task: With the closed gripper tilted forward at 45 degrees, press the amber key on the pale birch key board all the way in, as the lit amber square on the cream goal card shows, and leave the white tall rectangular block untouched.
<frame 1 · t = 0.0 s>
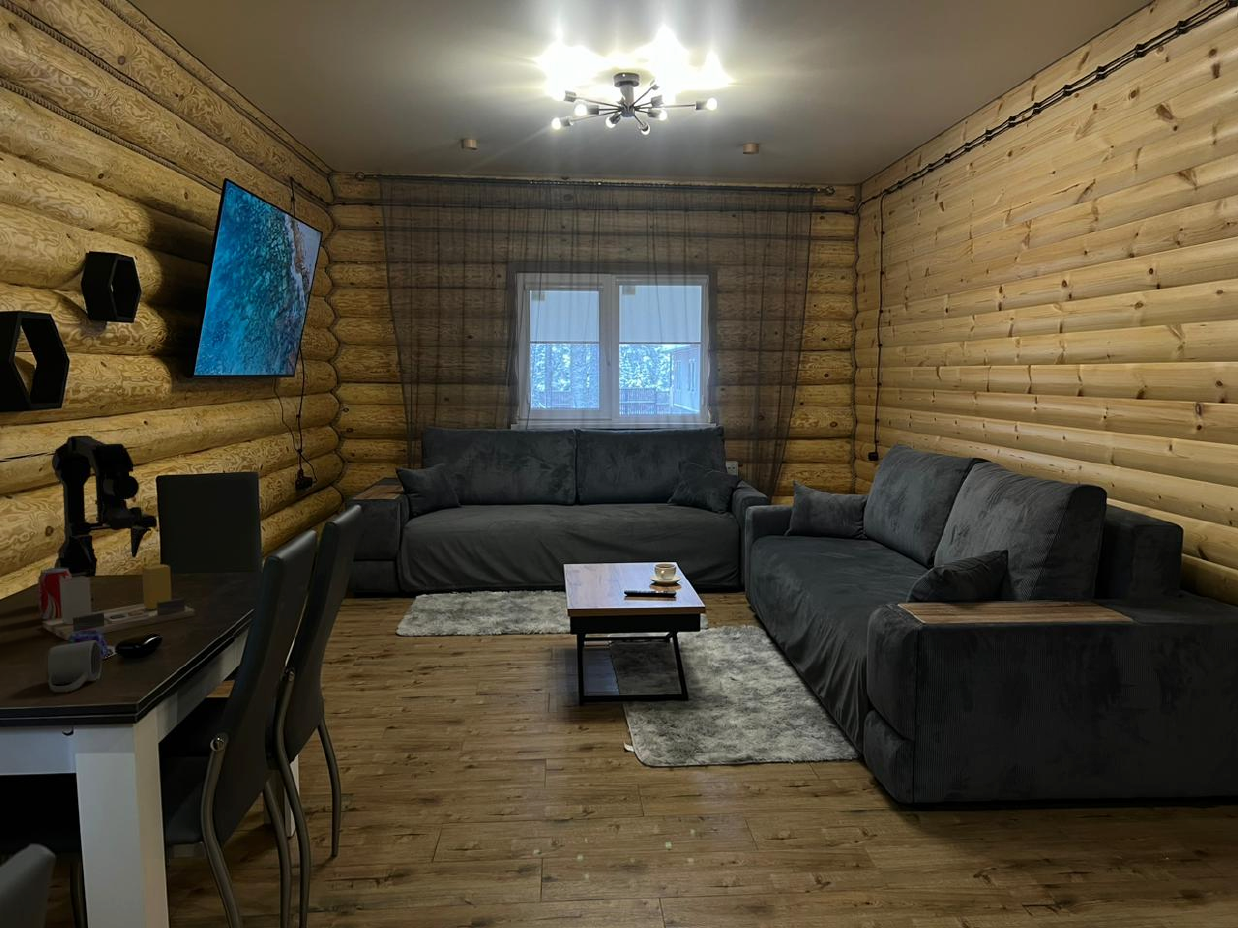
hand: (113, 559, 210), 15 cm above the table, tool pointing down, fingers open, 9 cm apart
white tall rectangular block: (75, 599, 203), point 7 cm above the table, slide at 0.0 cm
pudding: (86, 658, 183), on the table
key board: (120, 621, 209), on the table
ceramic mug: (74, 684, 166), on the table
soda can: (57, 618, 212), on the table
key amber: (157, 586, 216), point 7 cm above the table, slide at 0.0 cm
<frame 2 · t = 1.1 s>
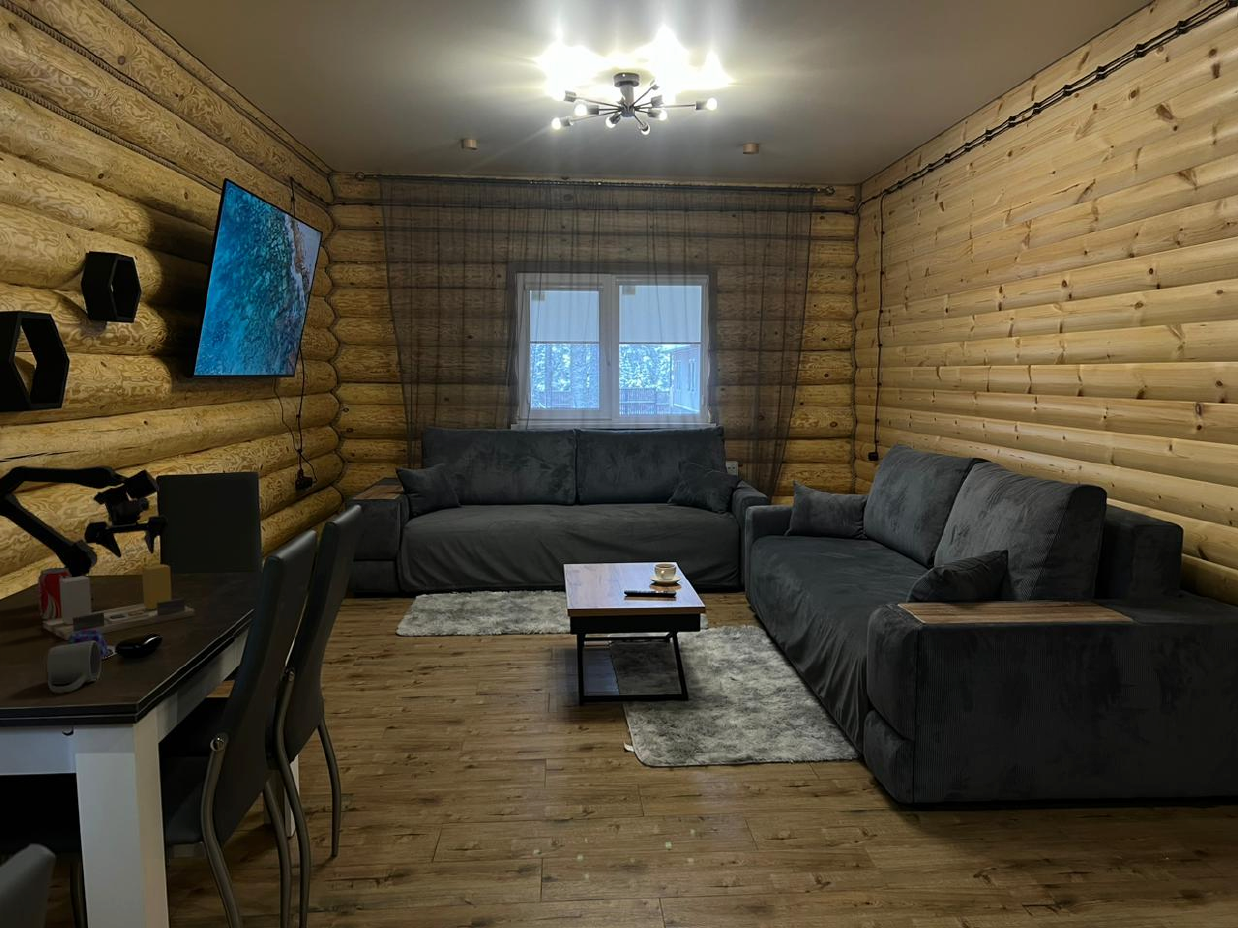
hand: (136, 554, 223), 13 cm above the table, tool tilted 45°, fingers open, 7 cm apart
nothing on the table moved.
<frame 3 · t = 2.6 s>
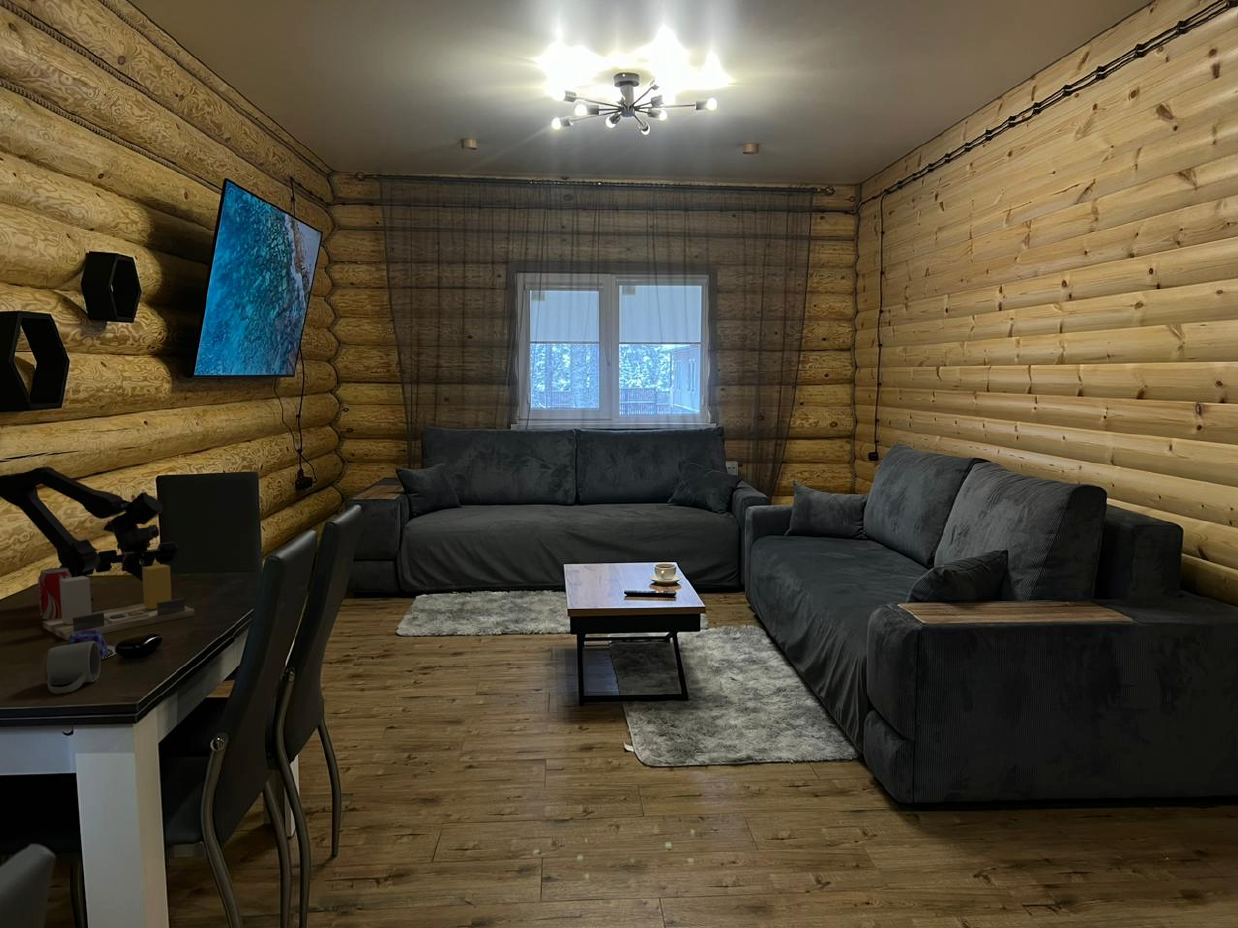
hand: (147, 582, 220), 7 cm above the table, tool tilted 45°, fingers closed
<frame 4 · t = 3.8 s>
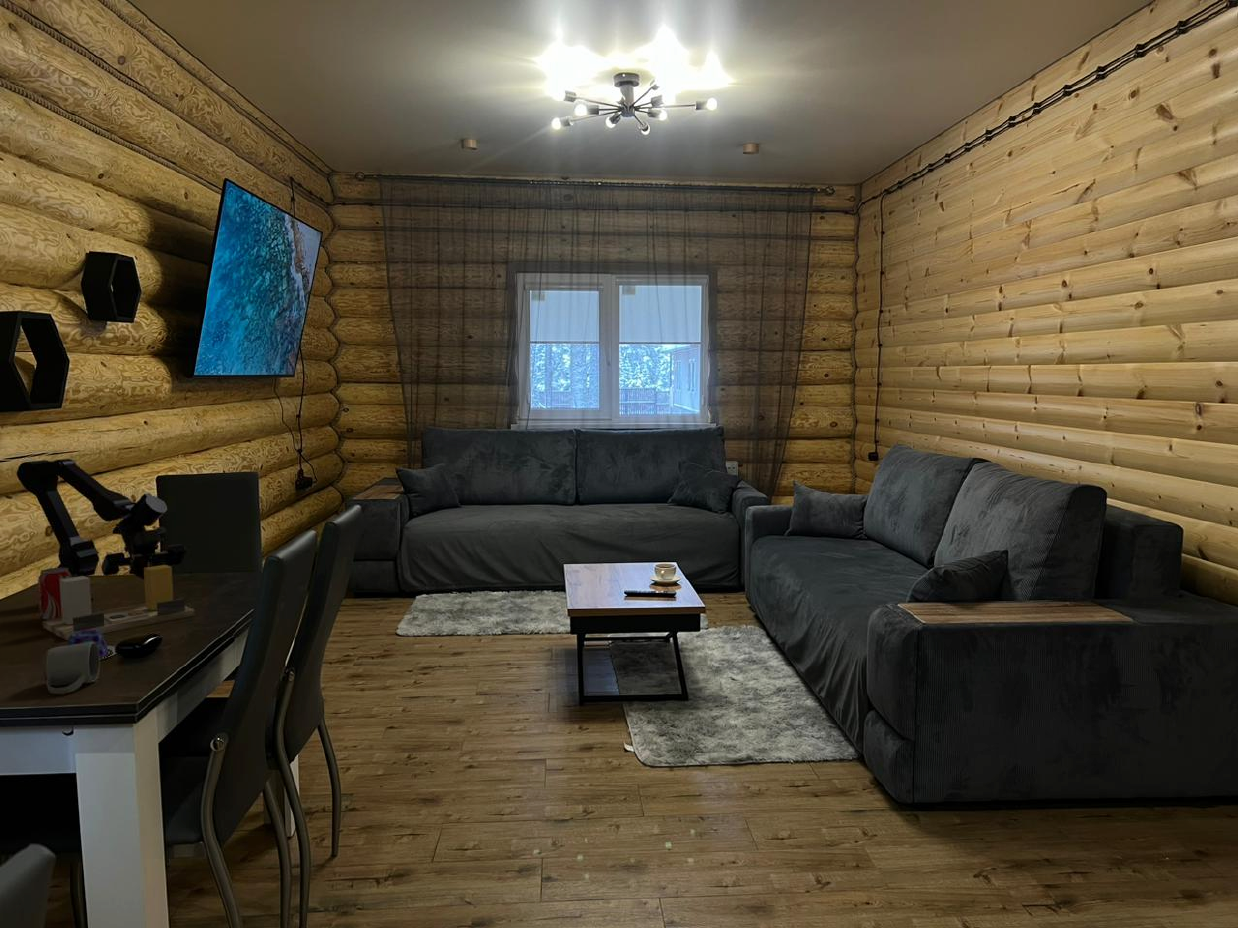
hand: (155, 585, 217), 7 cm above the table, tool tilted 45°, fingers closed, pressing on key amber
key amber: (158, 587, 216), point 7 cm above the table, slide at 1.1 cm, touching gripper
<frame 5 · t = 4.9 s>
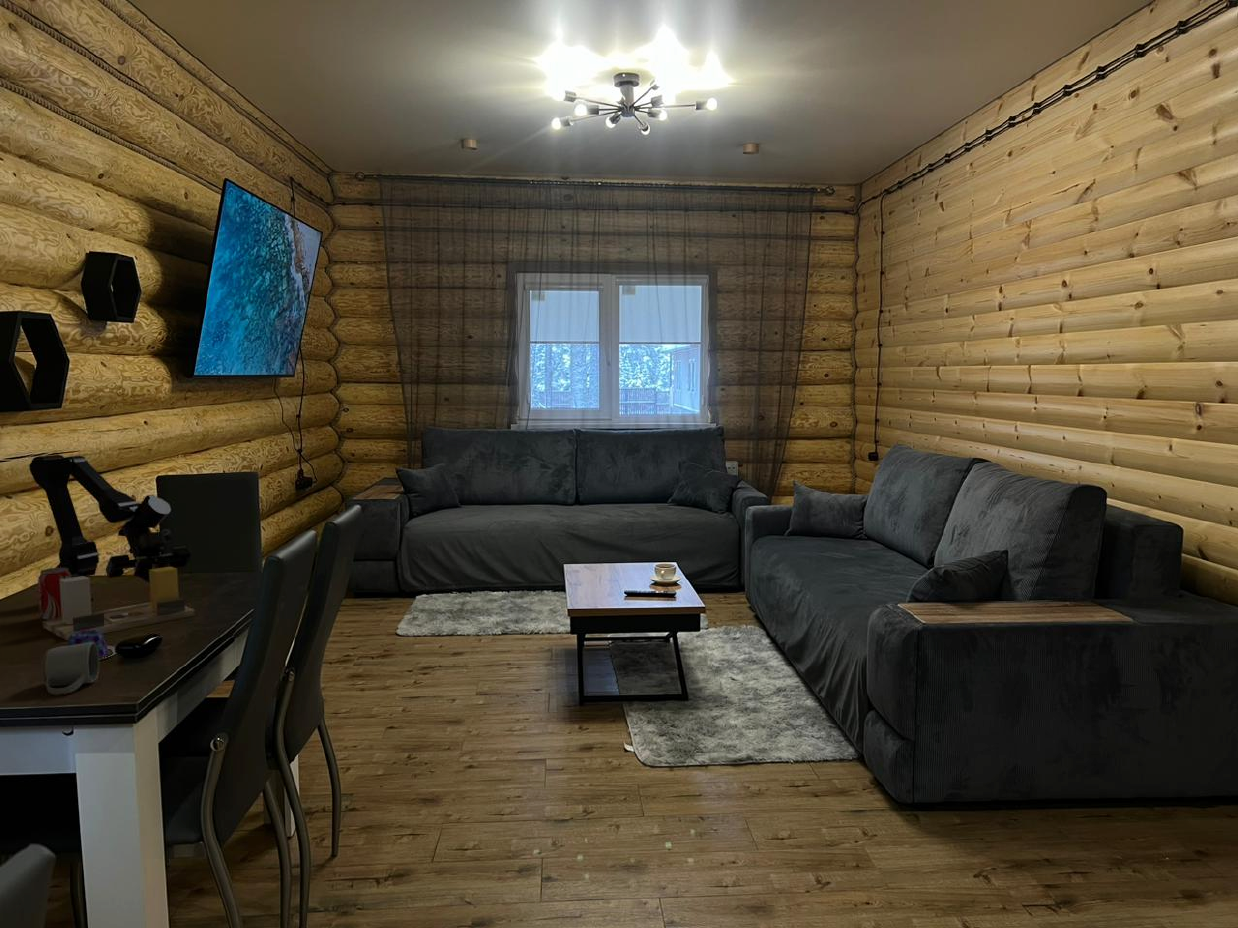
hand: (160, 588, 215), 7 cm above the table, tool tilted 45°, fingers closed, pressing on key amber
key amber: (164, 589, 213), point 7 cm above the table, slide at 4.3 cm, touching gripper
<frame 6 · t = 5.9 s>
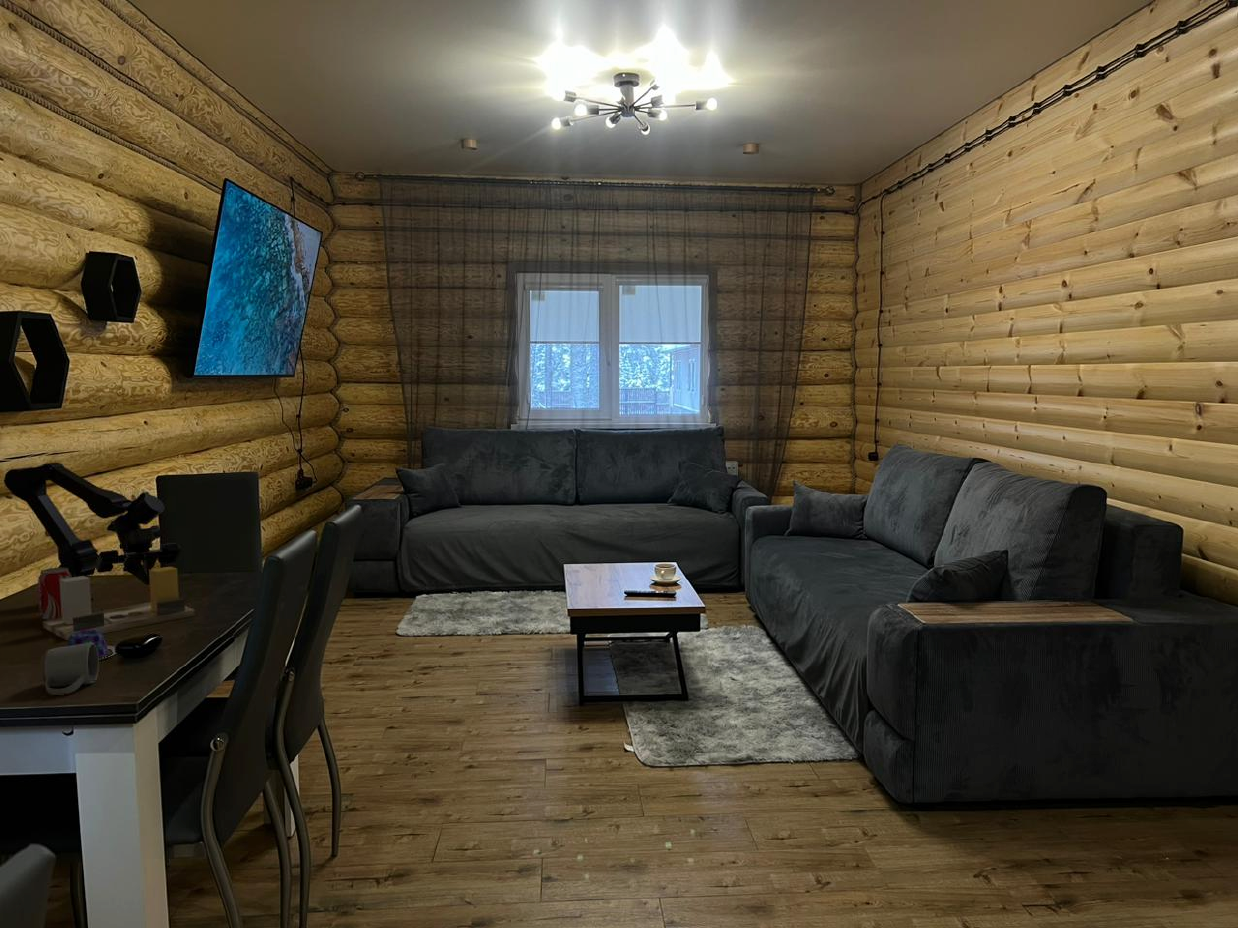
hand: (148, 583, 219), 7 cm above the table, tool tilted 45°, fingers closed
key amber: (164, 589, 213), point 7 cm above the table, slide at 4.3 cm
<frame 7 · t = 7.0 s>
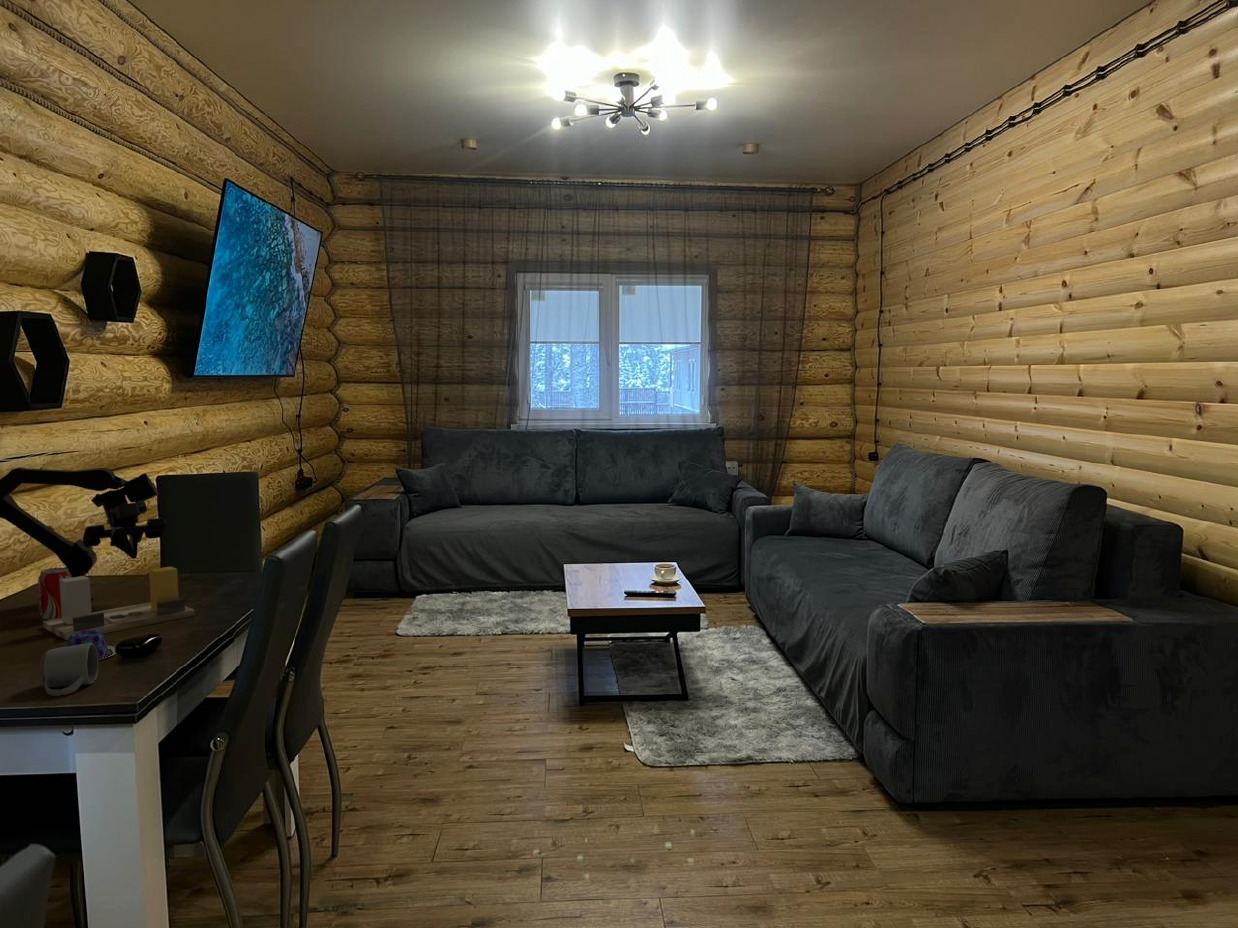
hand: (134, 557, 224), 13 cm above the table, tool tilted 45°, fingers closed
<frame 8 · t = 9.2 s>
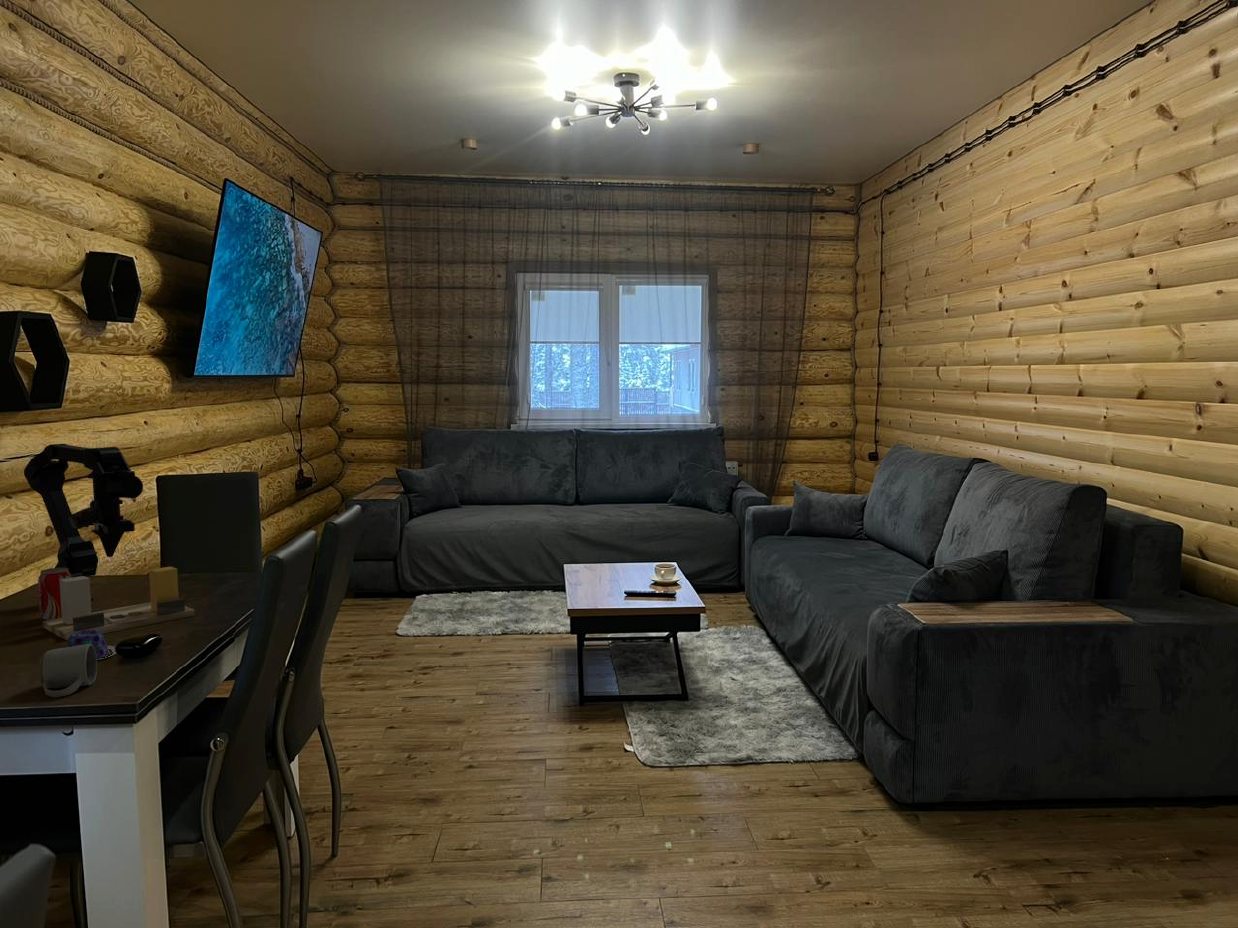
hand: (109, 556, 222), 13 cm above the table, tool pointing down, fingers closed
at the end: key amber slide at 4.3 cm; white tall rectangular block slide at 0.0 cm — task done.
